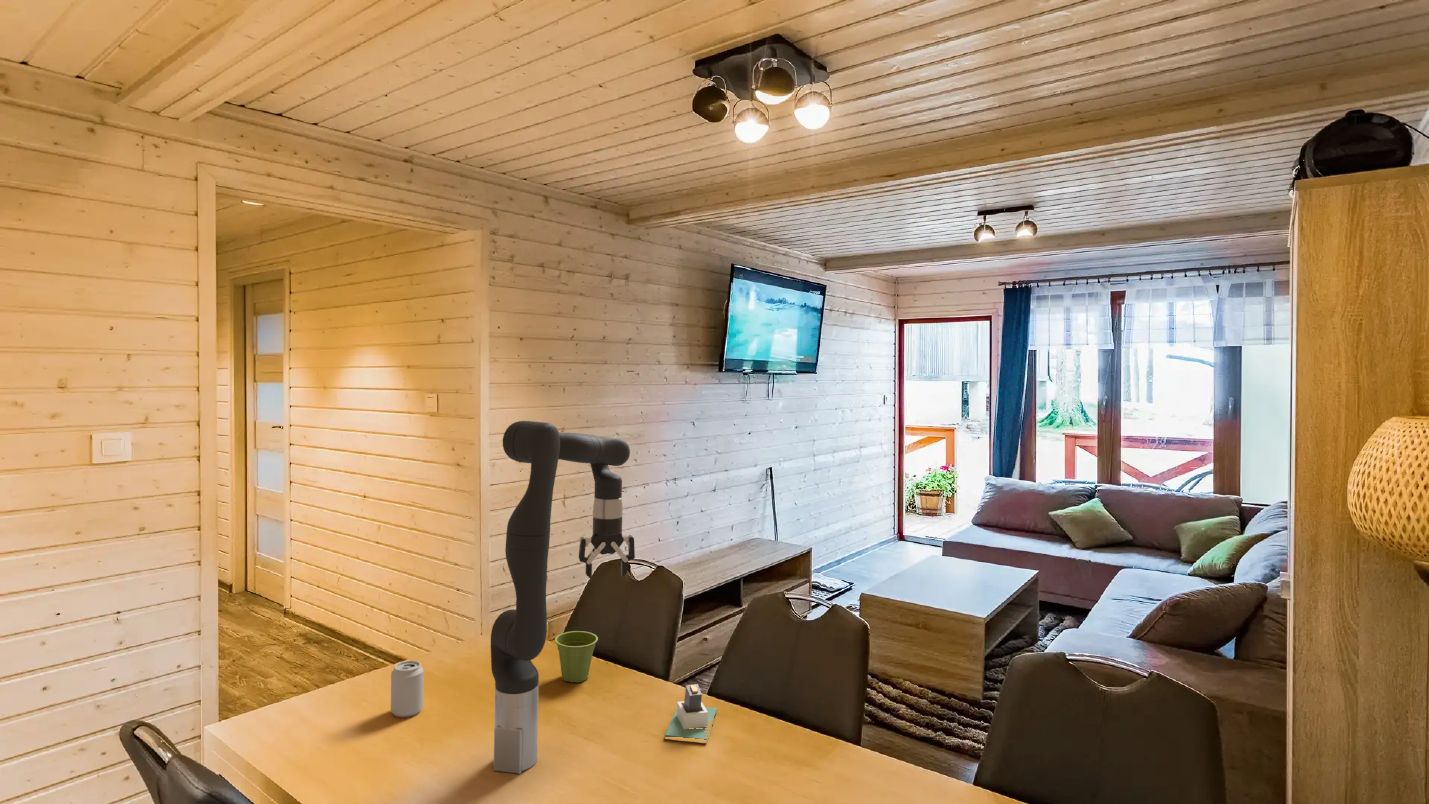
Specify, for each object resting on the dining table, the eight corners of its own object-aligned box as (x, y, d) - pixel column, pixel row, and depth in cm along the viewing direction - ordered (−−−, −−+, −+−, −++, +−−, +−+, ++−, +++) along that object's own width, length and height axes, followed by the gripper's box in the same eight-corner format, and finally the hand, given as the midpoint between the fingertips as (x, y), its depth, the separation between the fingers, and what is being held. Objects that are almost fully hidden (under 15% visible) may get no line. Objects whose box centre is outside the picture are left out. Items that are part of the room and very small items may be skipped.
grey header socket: (707, 726, 177) (708, 712, 176) (683, 729, 175) (684, 715, 175) (699, 712, 183) (700, 699, 183) (676, 715, 182) (677, 701, 181)
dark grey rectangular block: (699, 722, 178) (702, 692, 176) (687, 723, 178) (690, 693, 175) (694, 711, 182) (697, 682, 180) (683, 713, 181) (686, 683, 179)
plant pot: (574, 691, 196) (574, 650, 196) (545, 678, 204) (545, 639, 203) (605, 676, 206) (606, 637, 205) (577, 665, 213) (577, 627, 212)
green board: (706, 744, 171) (706, 739, 170) (664, 739, 172) (664, 734, 172) (716, 712, 186) (717, 708, 186) (678, 708, 188) (678, 704, 188)
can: (428, 706, 186) (429, 659, 185) (413, 720, 178) (414, 672, 178) (400, 703, 186) (401, 657, 186) (384, 717, 179) (384, 669, 178)
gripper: (581, 518, 183) (580, 582, 184) (637, 516, 187) (636, 579, 188) (578, 512, 190) (577, 574, 191) (632, 511, 194) (630, 571, 195)
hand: (606, 576), depth 189 cm, fingers open, 8 cm apart
